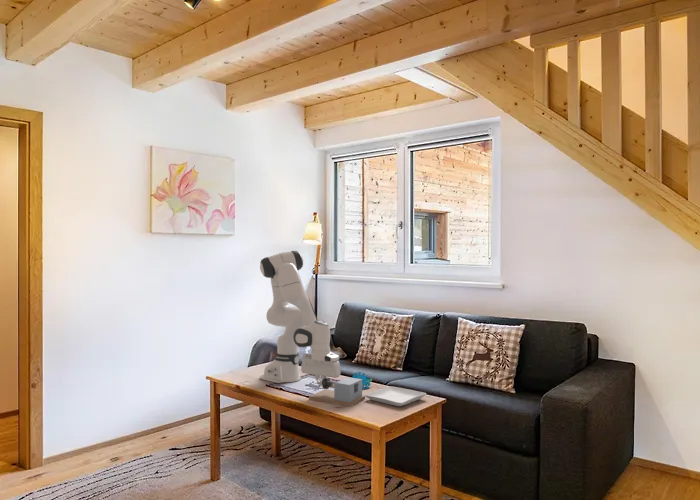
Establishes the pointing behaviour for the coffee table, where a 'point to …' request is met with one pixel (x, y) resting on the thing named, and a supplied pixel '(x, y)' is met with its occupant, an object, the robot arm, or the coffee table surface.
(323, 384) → the shaft
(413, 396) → the salad plate
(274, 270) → the robot arm
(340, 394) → the bearing block
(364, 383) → the gear
